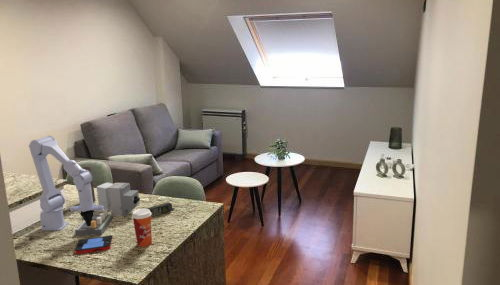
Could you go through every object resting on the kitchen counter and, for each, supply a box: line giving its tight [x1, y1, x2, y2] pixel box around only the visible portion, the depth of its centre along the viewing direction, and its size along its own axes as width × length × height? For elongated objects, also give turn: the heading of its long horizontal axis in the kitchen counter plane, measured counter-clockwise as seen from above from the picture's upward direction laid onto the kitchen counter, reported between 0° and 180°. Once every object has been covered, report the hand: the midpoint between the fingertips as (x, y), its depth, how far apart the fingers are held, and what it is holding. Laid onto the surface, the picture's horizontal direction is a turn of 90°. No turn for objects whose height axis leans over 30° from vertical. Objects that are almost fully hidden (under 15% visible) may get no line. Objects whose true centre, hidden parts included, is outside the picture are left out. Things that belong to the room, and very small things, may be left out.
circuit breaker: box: [108, 182, 141, 217], centre depth 207 cm, size 8×14×15 cm, turn 78°
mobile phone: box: [147, 202, 175, 218], centre depth 206 cm, size 5×3×15 cm
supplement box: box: [95, 181, 114, 212], centre depth 215 cm, size 7×7×13 cm
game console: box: [74, 234, 114, 255], centre depth 176 cm, size 14×13×2 cm
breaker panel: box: [74, 209, 114, 236], centre depth 193 cm, size 12×17×6 cm
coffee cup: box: [131, 208, 153, 248], centre depth 175 cm, size 8×8×15 cm
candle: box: [81, 166, 96, 203], centre depth 221 cm, size 8×7×20 cm
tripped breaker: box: [91, 220, 96, 228], centre depth 186 cm, size 2×2×3 cm
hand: (89, 225), depth 186 cm, fingers closed
